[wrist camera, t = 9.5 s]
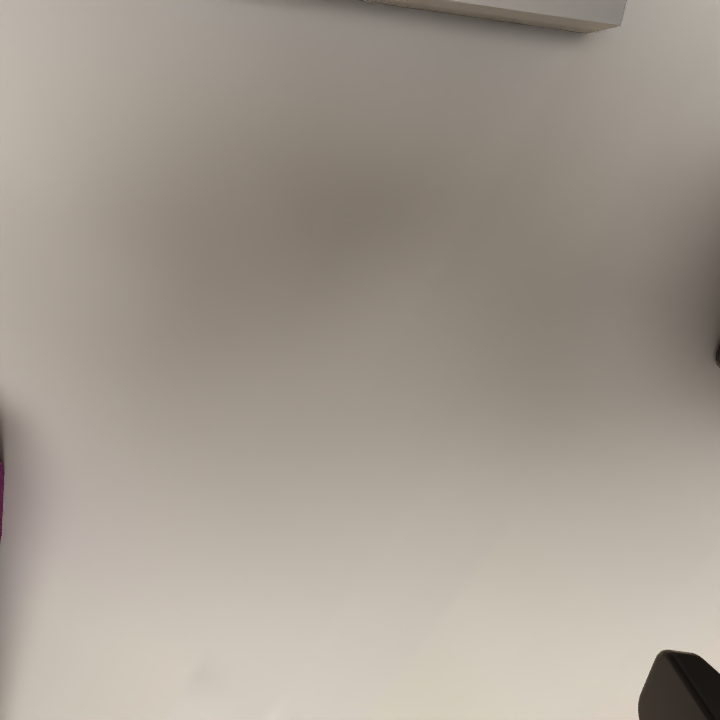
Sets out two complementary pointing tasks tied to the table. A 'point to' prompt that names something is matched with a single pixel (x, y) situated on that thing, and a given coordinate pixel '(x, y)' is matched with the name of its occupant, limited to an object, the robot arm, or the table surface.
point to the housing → (530, 11)
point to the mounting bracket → (1, 495)
